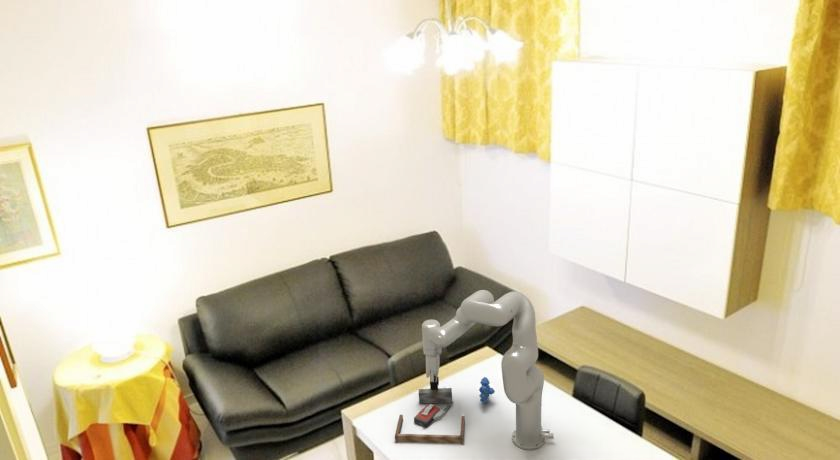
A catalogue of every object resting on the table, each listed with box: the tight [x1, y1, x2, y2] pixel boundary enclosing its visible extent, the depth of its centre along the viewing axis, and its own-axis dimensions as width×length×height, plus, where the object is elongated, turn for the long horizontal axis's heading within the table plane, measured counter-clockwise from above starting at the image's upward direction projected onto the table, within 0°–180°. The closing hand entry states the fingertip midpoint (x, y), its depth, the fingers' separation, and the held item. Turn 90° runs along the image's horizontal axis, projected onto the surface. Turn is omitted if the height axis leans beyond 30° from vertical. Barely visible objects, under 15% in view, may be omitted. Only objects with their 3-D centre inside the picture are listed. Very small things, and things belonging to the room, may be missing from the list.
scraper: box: [417, 377, 453, 404], centre depth 259 cm, size 14×3×13 cm, turn 87°
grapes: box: [478, 376, 496, 405], centre depth 257 cm, size 12×7×12 cm, turn 167°
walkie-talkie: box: [413, 401, 454, 429], centre depth 253 cm, size 9×4×20 cm
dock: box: [394, 414, 466, 445], centre depth 242 cm, size 26×14×3 cm, turn 83°
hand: (434, 386), depth 259 cm, fingers closed on scraper, 2 cm apart
